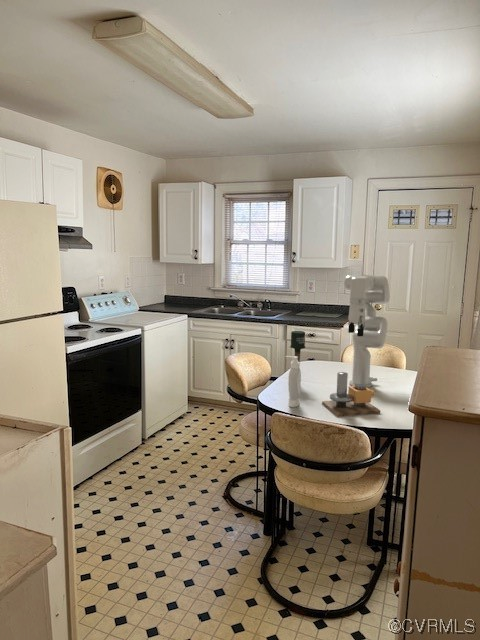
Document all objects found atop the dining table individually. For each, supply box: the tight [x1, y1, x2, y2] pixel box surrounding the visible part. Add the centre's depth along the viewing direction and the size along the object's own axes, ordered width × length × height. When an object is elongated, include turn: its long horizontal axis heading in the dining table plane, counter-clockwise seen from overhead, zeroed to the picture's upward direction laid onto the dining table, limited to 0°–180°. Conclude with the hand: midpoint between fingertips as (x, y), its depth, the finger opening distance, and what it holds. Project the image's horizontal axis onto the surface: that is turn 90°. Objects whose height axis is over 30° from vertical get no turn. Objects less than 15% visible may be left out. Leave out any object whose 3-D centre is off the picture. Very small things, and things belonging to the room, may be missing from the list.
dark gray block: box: [354, 384, 366, 407], centre depth 230 cm, size 4×4×10 cm
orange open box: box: [347, 385, 376, 403], centre depth 231 cm, size 12×8×6 cm
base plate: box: [321, 400, 381, 418], centre depth 231 cm, size 22×18×2 cm
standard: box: [329, 371, 353, 408], centre depth 228 cm, size 11×11×16 cm
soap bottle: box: [285, 355, 302, 408], centre depth 234 cm, size 13×8×24 cm, turn 159°
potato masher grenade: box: [289, 330, 306, 364], centre depth 270 cm, size 8×9×30 cm
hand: (355, 334), depth 245 cm, fingers open, 9 cm apart
